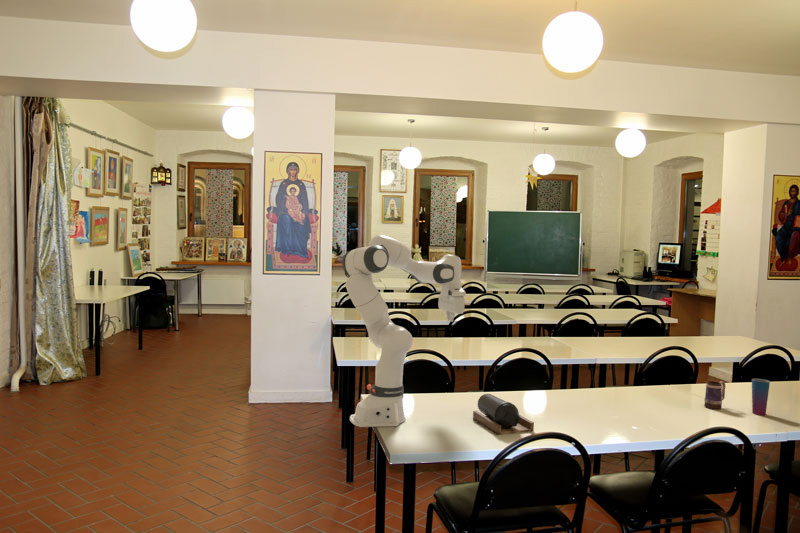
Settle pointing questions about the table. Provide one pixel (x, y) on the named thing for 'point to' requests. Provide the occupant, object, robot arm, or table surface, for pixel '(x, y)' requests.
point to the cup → (759, 396)
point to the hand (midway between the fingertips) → (450, 321)
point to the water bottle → (499, 411)
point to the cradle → (485, 421)
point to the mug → (714, 394)
